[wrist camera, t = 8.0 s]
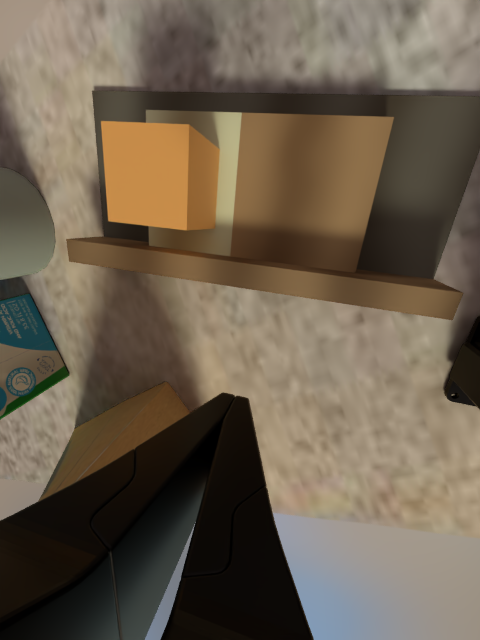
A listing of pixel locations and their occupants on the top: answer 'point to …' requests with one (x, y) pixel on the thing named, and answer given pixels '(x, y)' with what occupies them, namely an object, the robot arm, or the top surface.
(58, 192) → the top surface
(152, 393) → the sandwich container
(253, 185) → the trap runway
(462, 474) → the top surface
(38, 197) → the spray bottle
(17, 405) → the milk carton
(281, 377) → the top surface
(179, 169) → the block
